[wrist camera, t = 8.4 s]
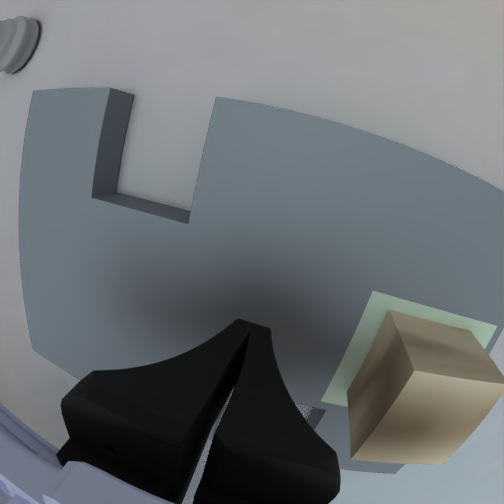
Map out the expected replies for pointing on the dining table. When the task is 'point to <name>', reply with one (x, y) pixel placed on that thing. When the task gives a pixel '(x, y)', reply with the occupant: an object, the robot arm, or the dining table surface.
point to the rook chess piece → (17, 42)
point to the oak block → (419, 392)
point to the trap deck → (250, 246)
